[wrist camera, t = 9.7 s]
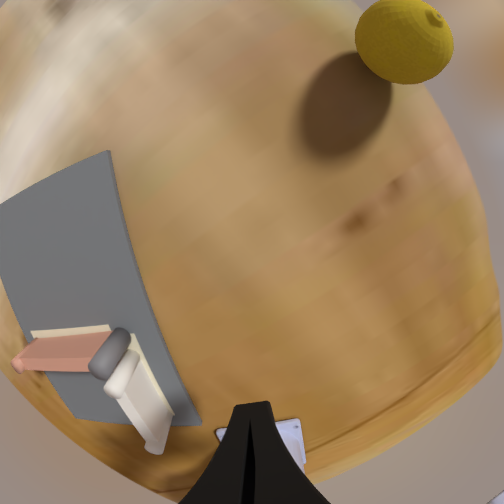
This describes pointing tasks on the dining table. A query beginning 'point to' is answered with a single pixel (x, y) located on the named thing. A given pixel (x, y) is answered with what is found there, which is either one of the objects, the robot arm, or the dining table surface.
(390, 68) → the lemon
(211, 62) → the dining table surface
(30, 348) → the pink rounded-end bar
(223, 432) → the robot arm
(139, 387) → the mat
